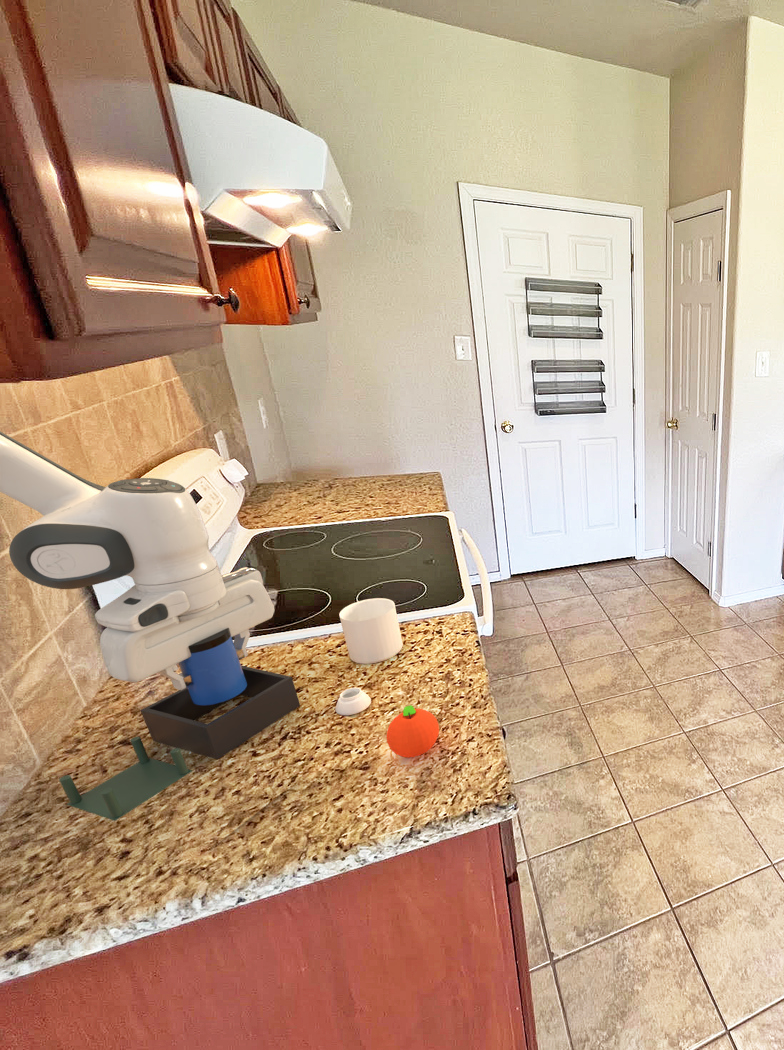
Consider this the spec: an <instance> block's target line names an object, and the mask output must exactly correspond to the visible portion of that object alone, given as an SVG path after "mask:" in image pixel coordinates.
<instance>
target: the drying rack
mask: <svg viewBox="0 0 784 1050" xmlns="http://www.w3.org/2000/svg"><path fill="white" fill-rule="evenodd" d="M130 744H131V746H132V748H133V750H134V753H135V755H136V757H137V761H138V762H136V763H134V764H133V765H131V766H129V767H127V768H125V769H124V770H122V771H120V772H119V773H116V775H114V776H112V777H110V778H108V779H107V780H105V781H103V782H101V783H100V784H98V785H96V786H95V787H93V788H91V789H90V790H88V791H86V792H85V793H83V794H80V792H79V790H78V787H77V786H76V783H75V782H74V780H73V778H72V775H70V774H66V775H63V776H61V777H60V778H59V779H58V781H59V783H60V786H61V787H62V789H63V791H64V793H65V795H66V797H67V799H68V800H69V802H68V803H66V806H69V807H73V808H76V809H79V810H81V811H85V812H87V813H90V814H93V815H97V816H99V817H102V818H105V819H108V820H111V821H114V822H115V821H118V820H119V819H120V818H122V817H123V816H125V815H126V814H128V813H130V812H131V811H133V810H134V809H136V808H138V807H139V806H141V805H142V804H143V803H145V802H147V801H149V800H150V799H152V798H154V796H156V795H158V794H159V793H160V792H162V791H165V789H167V788H169V787H170V786H171V785H174V784H175V783H176V782H178V781H179V780H181V779H182V778H184V777H185V776H187V775H189V774H190V773H192V772H193V771H194V770H192V769H190V768H188V766H187V763H186V761H185V758H184V755H183V754H182V750H181V749H180V748H175V747H173V748H172V749H171V750H170V751H169V753H170V756H171V758H172V761H173V763H174V764H172V763H169V762H166V761H162V760H159V759H155V758H152V757H149V755H148V752H147V750H146V748H145V745H144V742H143V741H142V738H141V737H140V736H135V737H133V738H131V739H130Z"/></svg>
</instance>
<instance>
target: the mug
mask: <svg viewBox="0 0 784 1050" xmlns="http://www.w3.org/2000/svg"><path fill="white" fill-rule="evenodd" d="M338 614H339V620H340V623H341V628H342V632H343V636H344V640H345V645H346V649H347V653H348V657H349V659H350V660H351V661H352V662H354V663H356V664H361V665H370V664H376V663H380V662H383V661H386V660H389V659H391V658H393V657H394V656H396V655H398V653H400V652H401V650H402V648H403V646H404V644H403V638H402V633H401V628H400V624H399V618H398V613H397V609H396V604H395V602H394V600H392V599H389V598H385V597H383V598H381V597H375V598H367V599H363V600H358V601H356V602H353V603H351V604H349V605H347V606H345V607H343V608H342V609H341V610H340V612H339V613H338Z"/></svg>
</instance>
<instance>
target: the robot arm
mask: <svg viewBox="0 0 784 1050" xmlns="http://www.w3.org/2000/svg"><path fill="white" fill-rule="evenodd" d="M0 493H2V494H4V495H5V496H8V497H10V498H11V499H13V500H15V501H17V502H19V503H21V504H24V505H25V506H27V507H28V508H30V509H33V510H34V511H36V512H38V513H39V514H41V515H42V516H41V517H39V518H38V519H36V520H35V521H33V522H32V523H30V524H28V525H27V526H25V527H24V528H23V529H22V530H20V531H19V532H18V533H17V534H16V535H15V536H14V537H13V538H12V540H11V541H10V544H9V549H8V553H9V558H10V560H11V561H10V562H11V564H12V565H13V567H14V568H15V569H16V570H17V571H18V572H19V573H20V574H21V575H22V576H24V577H25V578H26V579H28V580H29V581H31V582H33V583H35V584H37V585H40V586H44V587H47V588H51V589H57V590H75V589H83V588H87V587H91V586H95V585H98V584H103V583H106V582H110V581H114V580H117V579H119V578H123V577H125V576H127V577H130V578H131V579H132V581H133V583H134V585H133V586H132V587H130V588H128V590H126V591H125V592H123V593H122V594H121V595H119V596H118V597H116V598H115V599H113V600H112V601H110V602H109V603H107V604H106V605H104V606H102V607H101V608H100V609H98V610H97V611H96V612H95V614H94V618H95V620H96V622H97V623H98V625H100V626H103V627H106V628H105V629H103V631H102V632H101V634H100V637H99V644H100V645H99V646H100V650H101V654H102V659H103V661H104V665H105V667H106V670H107V672H108V674H109V675H110V676H111V677H112V678H114V679H116V680H119V681H122V682H128V683H134V684H135V683H139V682H142V681H144V680H146V679H148V678H149V677H152V676H155V675H156V674H159V675H161V676H163V677H165V678H167V679H169V680H170V682H171V685H172V687H173V688H174V689H175V690H177V691H179V690H183V689H185V688H187V687H189V686H191V685H193V681H191V680H192V678H191V675H188V674H184V673H182V672H180V673H177V672H176V671H178V670H179V666H178V663H179V662H181V661H183V660H185V659H187V658H189V657H191V652H190V650H189V647H188V646H190V645H192V644H194V643H196V642H199V641H201V640H203V639H205V638H207V637H209V636H211V635H214V634H216V633H218V632H220V631H222V630H224V629H227V628H229V630H230V633H231V637H232V638H233V637H234V639H233V643H234V646H235V649H236V652H237V655H238V658H239V661H241V660H243V659H244V658H247V657H249V656H248V655H249V653H248V651H247V645H248V643H249V639H250V636H251V633H250V629H251V628H254V627H256V626H257V625H261V624H262V623H264V622H266V621H269V620H271V619H272V618H273V616H274V615H275V606H274V604H273V601H272V599H271V597H270V595H269V593H268V590H267V589H266V587H265V586H264V580H263V577H262V573H261V572H260V571H259V570H258V569H256V568H254V567H248V566H244V567H241V568H238V569H236V570H234V571H231V572H227V573H225V574H221V570H220V567H219V564H218V561H217V559H216V558H215V556H214V555H213V554H212V552H211V550H210V547H209V533H208V530H207V527H206V524H205V522H204V519H203V517H202V515H201V512H200V509H199V507H198V505H197V504H196V501H195V500H194V497H193V496H192V495H191V493H190V492H189V491H188V489H187V488H186V487H184V486H183V485H181V484H180V483H178V482H174V481H171V480H168V479H162V478H153V477H137V478H126V479H120V480H117V481H113V482H110V483H109V484H108V485H106V486H103V485H100V484H97V483H94V482H92V481H89V480H87V479H85V478H84V477H82V476H79V475H77V474H75V473H74V472H72V471H70V470H69V469H67V468H66V467H64V466H62V465H60V464H58V463H56V462H54V461H53V460H52V459H50V458H48V457H46V456H44V455H42V454H41V453H40V452H37V451H35V450H34V449H32V448H30V447H29V446H27V445H25V444H23V443H21V442H20V441H18V440H16V439H14V438H13V437H11V436H9V435H7V434H5V433H4V432H2V431H0Z"/></svg>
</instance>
